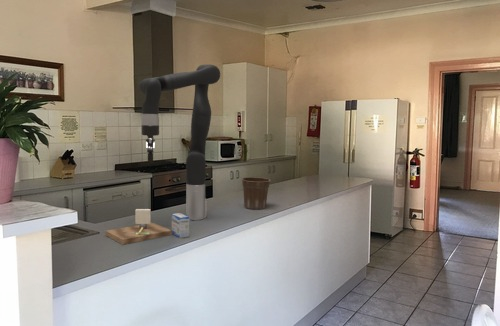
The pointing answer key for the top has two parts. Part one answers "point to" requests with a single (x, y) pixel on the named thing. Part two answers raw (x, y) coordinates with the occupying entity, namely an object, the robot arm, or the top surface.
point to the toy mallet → (142, 218)
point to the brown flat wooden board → (132, 235)
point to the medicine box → (180, 225)
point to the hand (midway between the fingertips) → (150, 161)
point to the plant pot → (255, 192)
